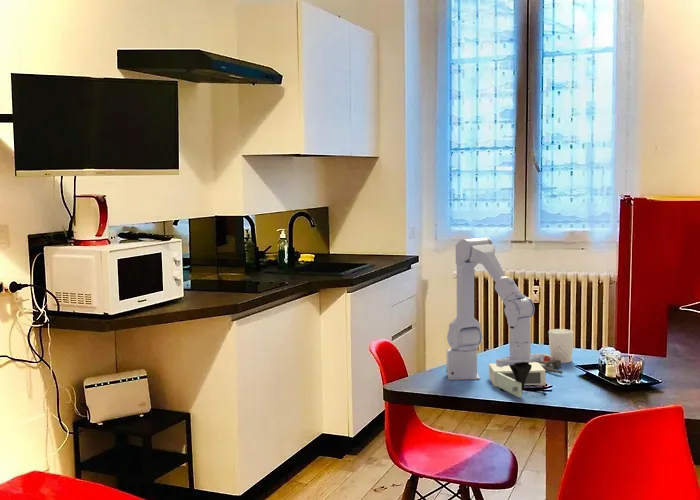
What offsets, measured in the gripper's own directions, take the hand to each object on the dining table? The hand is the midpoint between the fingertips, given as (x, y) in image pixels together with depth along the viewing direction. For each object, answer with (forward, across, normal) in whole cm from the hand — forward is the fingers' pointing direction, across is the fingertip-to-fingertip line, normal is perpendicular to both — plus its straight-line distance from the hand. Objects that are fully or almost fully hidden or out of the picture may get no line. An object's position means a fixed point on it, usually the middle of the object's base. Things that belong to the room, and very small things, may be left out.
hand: (520, 389), depth 213 cm
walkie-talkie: (+3, +26, +22) cm, 34 cm away
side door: (+2, -1, +5) cm, 5 cm away
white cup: (+2, +36, +28) cm, 46 cm away
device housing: (+2, +8, +13) cm, 16 cm away
